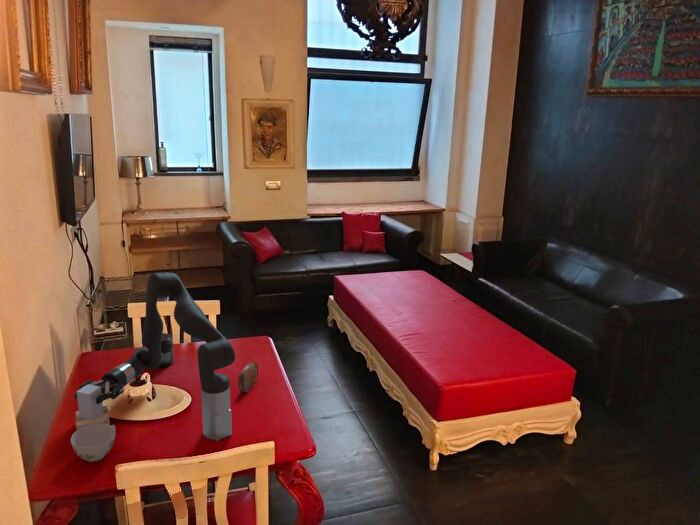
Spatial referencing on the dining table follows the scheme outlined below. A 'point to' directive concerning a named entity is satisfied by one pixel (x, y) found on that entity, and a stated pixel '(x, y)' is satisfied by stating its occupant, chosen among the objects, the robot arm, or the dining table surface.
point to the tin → (248, 377)
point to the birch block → (99, 420)
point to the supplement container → (166, 350)
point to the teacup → (93, 441)
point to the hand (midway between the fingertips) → (86, 399)
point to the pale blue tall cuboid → (89, 402)
